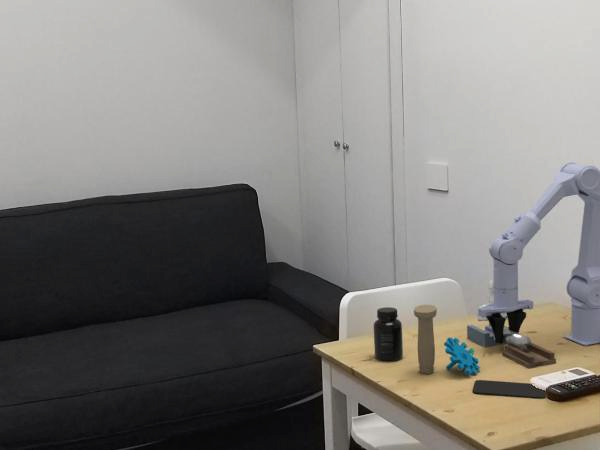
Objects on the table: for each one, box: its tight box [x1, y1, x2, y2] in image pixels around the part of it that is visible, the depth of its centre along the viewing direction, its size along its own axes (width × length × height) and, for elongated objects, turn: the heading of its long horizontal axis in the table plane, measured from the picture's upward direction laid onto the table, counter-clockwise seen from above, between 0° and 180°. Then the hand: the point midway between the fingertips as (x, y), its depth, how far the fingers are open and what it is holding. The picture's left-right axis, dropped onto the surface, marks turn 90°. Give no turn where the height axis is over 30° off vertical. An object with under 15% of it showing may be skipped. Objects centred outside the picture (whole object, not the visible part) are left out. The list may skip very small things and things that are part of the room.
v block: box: [466, 322, 509, 348], centre depth 204 cm, size 8×8×4 cm
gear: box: [443, 336, 481, 376], centre depth 185 cm, size 11×6×10 cm
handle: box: [413, 304, 438, 375], centre depth 184 cm, size 5×6×15 cm
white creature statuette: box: [477, 275, 507, 322], centre depth 224 cm, size 10×9×12 cm
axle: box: [503, 328, 532, 351], centre depth 195 cm, size 10×4×4 cm, turn 21°
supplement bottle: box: [373, 306, 404, 362], centre depth 195 cm, size 7×7×12 cm
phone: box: [471, 379, 547, 400], centre depth 172 cm, size 7×1×15 cm
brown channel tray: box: [502, 342, 557, 369], centre depth 190 cm, size 8×10×2 cm
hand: (506, 341), depth 198 cm, fingers closed on axle, 3 cm apart
